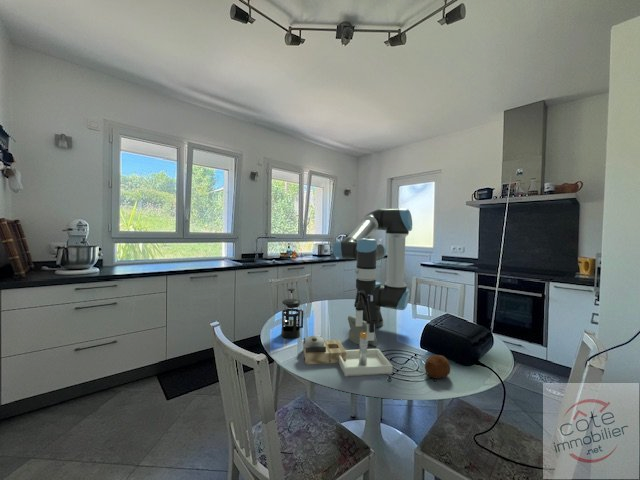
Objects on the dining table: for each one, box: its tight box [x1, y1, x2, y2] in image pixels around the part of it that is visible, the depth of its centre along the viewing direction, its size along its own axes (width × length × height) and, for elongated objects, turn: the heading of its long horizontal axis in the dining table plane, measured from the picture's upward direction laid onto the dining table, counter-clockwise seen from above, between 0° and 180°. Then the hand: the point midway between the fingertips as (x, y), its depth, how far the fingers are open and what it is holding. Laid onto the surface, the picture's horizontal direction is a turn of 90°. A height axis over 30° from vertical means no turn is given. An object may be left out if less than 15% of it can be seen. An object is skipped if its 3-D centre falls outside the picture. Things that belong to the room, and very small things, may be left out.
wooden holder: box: [302, 335, 346, 365], centre depth 109 cm, size 16×12×8 cm
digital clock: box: [347, 315, 378, 347], centre depth 125 cm, size 16×9×11 cm, turn 24°
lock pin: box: [358, 332, 369, 366], centre depth 103 cm, size 3×3×12 cm
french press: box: [280, 288, 304, 340], centre depth 130 cm, size 12×9×23 cm
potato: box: [424, 354, 451, 379], centre depth 97 cm, size 8×11×8 cm
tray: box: [338, 348, 394, 378], centre depth 103 cm, size 18×14×3 cm
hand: (364, 332), depth 103 cm, fingers open, 13 cm apart
